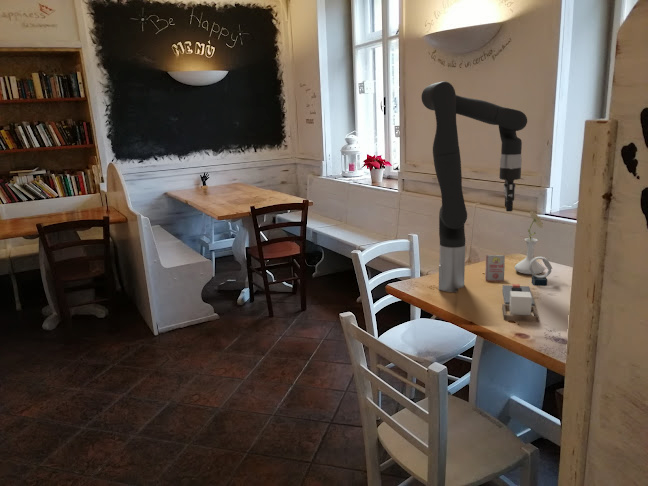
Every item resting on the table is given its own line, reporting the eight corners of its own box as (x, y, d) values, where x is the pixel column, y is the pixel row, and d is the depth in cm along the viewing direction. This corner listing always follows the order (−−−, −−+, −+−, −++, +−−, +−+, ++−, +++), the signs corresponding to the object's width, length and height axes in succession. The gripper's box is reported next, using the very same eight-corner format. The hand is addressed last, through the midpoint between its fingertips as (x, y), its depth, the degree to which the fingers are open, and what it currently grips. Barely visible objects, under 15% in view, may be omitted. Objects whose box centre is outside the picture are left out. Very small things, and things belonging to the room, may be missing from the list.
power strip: (505, 311, 169) (505, 300, 168) (502, 294, 185) (502, 283, 184) (534, 313, 167) (534, 301, 166) (528, 295, 182) (529, 284, 181)
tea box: (485, 277, 203) (486, 253, 201) (502, 278, 202) (504, 254, 199) (485, 280, 200) (486, 256, 197) (503, 281, 198) (505, 256, 196)
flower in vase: (544, 277, 200) (549, 215, 194) (514, 275, 204) (517, 214, 198) (543, 268, 212) (547, 209, 206) (514, 266, 216) (517, 208, 210)
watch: (552, 287, 189) (554, 259, 187) (529, 287, 191) (531, 259, 188) (548, 282, 195) (550, 255, 192) (526, 282, 196) (528, 254, 193)
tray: (503, 324, 160) (504, 315, 159) (502, 312, 169) (502, 304, 168) (537, 326, 157) (538, 317, 156) (534, 314, 166) (535, 306, 165)
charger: (510, 320, 161) (511, 296, 159) (508, 314, 166) (510, 291, 164) (530, 321, 160) (531, 297, 158) (528, 315, 164) (530, 292, 162)
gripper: (498, 164, 197) (497, 205, 201) (500, 168, 184) (498, 212, 188) (519, 164, 195) (517, 205, 199) (523, 168, 182) (520, 212, 186)
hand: (508, 209), depth 194 cm, fingers open, 8 cm apart
